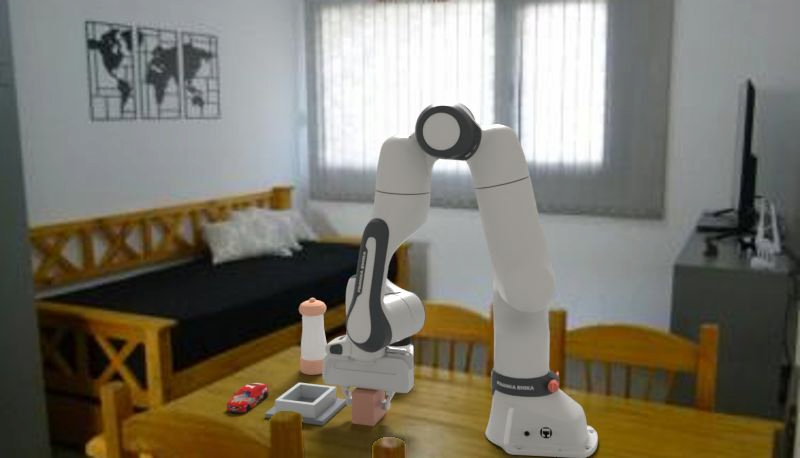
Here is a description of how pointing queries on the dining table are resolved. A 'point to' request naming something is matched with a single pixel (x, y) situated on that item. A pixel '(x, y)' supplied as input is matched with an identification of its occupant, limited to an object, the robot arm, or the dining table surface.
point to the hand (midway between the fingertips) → (368, 406)
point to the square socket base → (309, 403)
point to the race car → (248, 397)
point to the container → (404, 346)
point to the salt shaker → (312, 337)
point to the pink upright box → (367, 406)
